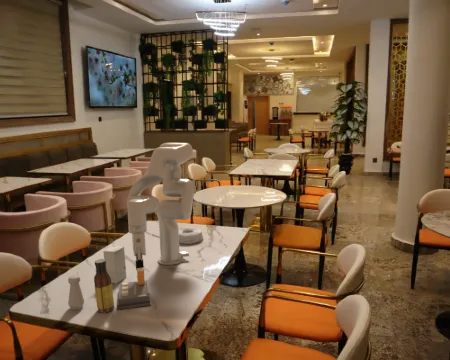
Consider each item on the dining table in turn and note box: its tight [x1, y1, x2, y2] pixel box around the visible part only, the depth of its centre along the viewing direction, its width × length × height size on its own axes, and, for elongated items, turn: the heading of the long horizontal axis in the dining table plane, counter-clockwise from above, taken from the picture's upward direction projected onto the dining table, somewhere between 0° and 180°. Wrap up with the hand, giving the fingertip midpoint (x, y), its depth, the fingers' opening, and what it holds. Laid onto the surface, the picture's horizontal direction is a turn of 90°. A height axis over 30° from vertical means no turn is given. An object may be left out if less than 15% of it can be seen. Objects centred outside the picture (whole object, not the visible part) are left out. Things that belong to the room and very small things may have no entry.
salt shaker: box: [67, 274, 85, 311], centre depth 151 cm, size 6×6×13 cm
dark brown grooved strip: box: [117, 300, 151, 310], centre depth 152 cm, size 12×2×1 cm, turn 103°
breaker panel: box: [118, 279, 151, 305], centre depth 161 cm, size 12×15×4 cm
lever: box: [136, 267, 146, 285], centre depth 165 cm, size 3×2×7 cm
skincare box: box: [103, 245, 127, 285], centre depth 176 cm, size 8×6×15 cm
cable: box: [178, 226, 204, 245], centre depth 231 cm, size 18×18×6 cm
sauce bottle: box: [93, 258, 115, 313], centre depth 149 cm, size 7×6×20 cm
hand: (139, 268), depth 170 cm, fingers closed
